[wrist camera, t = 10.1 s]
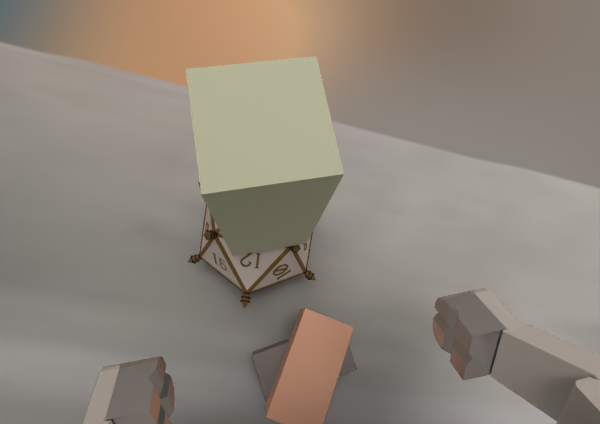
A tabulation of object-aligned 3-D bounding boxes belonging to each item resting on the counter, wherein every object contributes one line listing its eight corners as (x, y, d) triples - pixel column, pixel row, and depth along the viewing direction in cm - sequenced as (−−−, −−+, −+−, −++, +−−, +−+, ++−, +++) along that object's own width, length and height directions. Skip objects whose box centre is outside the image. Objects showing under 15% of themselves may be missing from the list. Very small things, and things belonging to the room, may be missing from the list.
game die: (253, 230, 32) (264, 122, 26) (333, 284, 28) (366, 172, 22) (163, 283, 26) (151, 158, 20) (249, 361, 22) (265, 235, 16)
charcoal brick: (266, 395, 25) (266, 405, 22) (253, 351, 26) (252, 355, 23) (346, 363, 26) (356, 368, 23) (332, 322, 27) (340, 322, 24)
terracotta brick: (311, 423, 22) (318, 438, 19) (265, 404, 22) (265, 417, 19) (343, 326, 24) (354, 327, 21) (300, 309, 24) (305, 307, 21)
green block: (232, 256, 19) (201, 194, 10) (222, 185, 20) (185, 68, 11) (306, 243, 20) (343, 173, 10) (292, 176, 21) (316, 56, 11)
